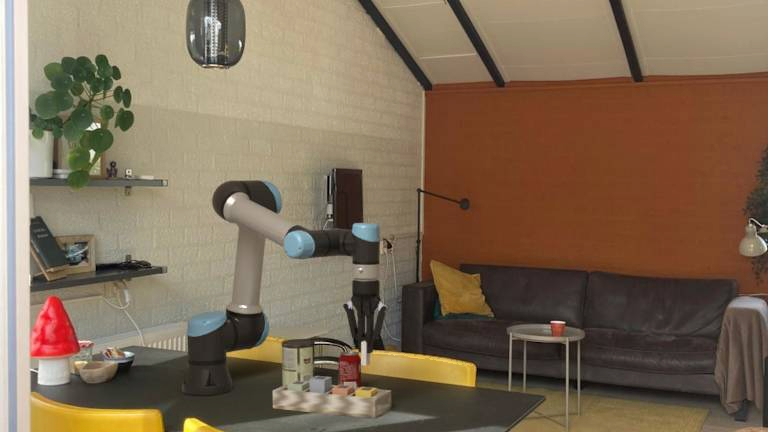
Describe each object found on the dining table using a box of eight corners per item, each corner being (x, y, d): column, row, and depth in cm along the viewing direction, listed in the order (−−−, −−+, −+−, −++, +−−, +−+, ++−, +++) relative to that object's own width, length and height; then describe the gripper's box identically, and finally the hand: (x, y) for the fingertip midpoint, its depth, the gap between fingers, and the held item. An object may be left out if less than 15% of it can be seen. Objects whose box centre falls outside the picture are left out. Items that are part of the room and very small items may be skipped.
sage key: (287, 401, 239) (287, 383, 239) (295, 398, 244) (295, 380, 244) (302, 403, 238) (301, 384, 238) (309, 399, 242) (309, 381, 242)
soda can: (358, 395, 252) (358, 355, 251) (336, 394, 253) (336, 354, 253) (363, 390, 258) (363, 351, 258) (341, 389, 260) (341, 350, 259)
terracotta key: (332, 406, 234) (332, 387, 234) (339, 402, 239) (339, 384, 238) (347, 407, 233) (347, 388, 232) (354, 403, 237) (354, 385, 237)
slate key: (309, 396, 237) (309, 378, 237) (317, 393, 241) (316, 375, 241) (324, 398, 235) (324, 379, 235) (331, 394, 239) (331, 376, 239)
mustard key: (355, 408, 232) (355, 389, 232) (362, 404, 236) (362, 386, 236) (370, 410, 230) (370, 391, 230) (377, 406, 234) (377, 387, 234)
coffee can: (292, 381, 270) (292, 337, 270) (321, 384, 266) (320, 340, 265) (275, 388, 261) (275, 343, 260) (304, 391, 256) (304, 345, 256)
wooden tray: (272, 408, 237) (272, 390, 237) (292, 398, 248) (292, 381, 248) (374, 418, 226) (374, 400, 225) (391, 408, 237) (391, 390, 237)
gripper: (338, 279, 231) (338, 365, 232) (382, 281, 226) (382, 369, 227) (349, 276, 238) (349, 360, 239) (393, 278, 233) (392, 363, 234)
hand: (365, 364), depth 233 cm, fingers closed
